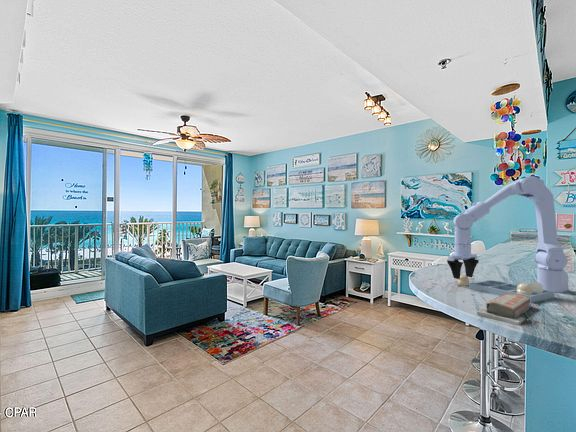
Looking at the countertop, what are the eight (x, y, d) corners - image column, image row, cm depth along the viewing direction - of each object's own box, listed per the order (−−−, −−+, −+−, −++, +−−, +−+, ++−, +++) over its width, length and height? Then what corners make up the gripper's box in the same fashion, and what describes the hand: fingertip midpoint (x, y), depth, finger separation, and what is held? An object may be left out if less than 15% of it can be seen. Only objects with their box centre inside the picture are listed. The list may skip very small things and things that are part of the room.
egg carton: (491, 287, 114) (491, 279, 114) (554, 300, 95) (554, 291, 95) (469, 291, 108) (469, 283, 108) (531, 305, 90) (530, 296, 90)
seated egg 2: (531, 294, 100) (531, 279, 100) (545, 296, 96) (545, 282, 96) (525, 295, 98) (524, 281, 98) (539, 298, 95) (538, 283, 95)
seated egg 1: (521, 296, 97) (520, 281, 97) (535, 299, 94) (534, 284, 94) (514, 297, 96) (513, 282, 96) (528, 300, 92) (527, 285, 92)
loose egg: (461, 285, 117) (461, 273, 117) (471, 287, 113) (471, 275, 113) (455, 286, 115) (455, 274, 115) (464, 289, 112) (464, 276, 112)
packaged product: (498, 290, 93) (538, 296, 85) (499, 305, 93) (538, 313, 85) (475, 299, 82) (518, 308, 74) (476, 316, 82) (518, 327, 74)
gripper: (465, 242, 121) (465, 274, 121) (441, 244, 115) (441, 277, 115) (481, 243, 115) (482, 277, 115) (457, 245, 109) (457, 280, 109)
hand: (463, 277), depth 114 cm, fingers open, 7 cm apart
